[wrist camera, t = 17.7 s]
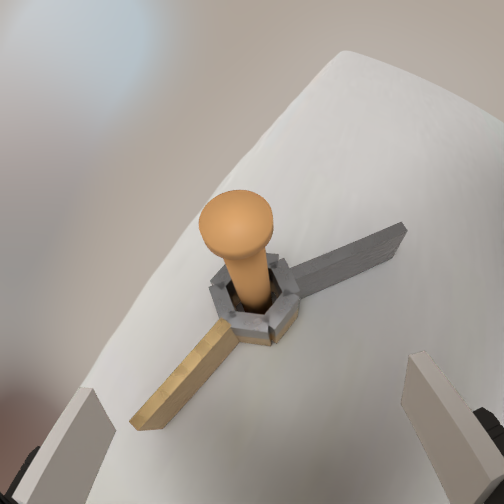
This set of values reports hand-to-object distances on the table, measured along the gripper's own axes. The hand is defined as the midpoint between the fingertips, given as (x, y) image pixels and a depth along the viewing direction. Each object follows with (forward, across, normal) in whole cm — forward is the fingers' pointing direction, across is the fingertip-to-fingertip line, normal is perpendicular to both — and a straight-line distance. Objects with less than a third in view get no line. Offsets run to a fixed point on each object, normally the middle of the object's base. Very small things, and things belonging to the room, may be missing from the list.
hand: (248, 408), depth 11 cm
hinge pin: (+21, 0, -6) cm, 22 cm away
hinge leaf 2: (+22, +6, -5) cm, 24 cm away
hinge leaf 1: (+18, -5, -9) cm, 21 cm away
